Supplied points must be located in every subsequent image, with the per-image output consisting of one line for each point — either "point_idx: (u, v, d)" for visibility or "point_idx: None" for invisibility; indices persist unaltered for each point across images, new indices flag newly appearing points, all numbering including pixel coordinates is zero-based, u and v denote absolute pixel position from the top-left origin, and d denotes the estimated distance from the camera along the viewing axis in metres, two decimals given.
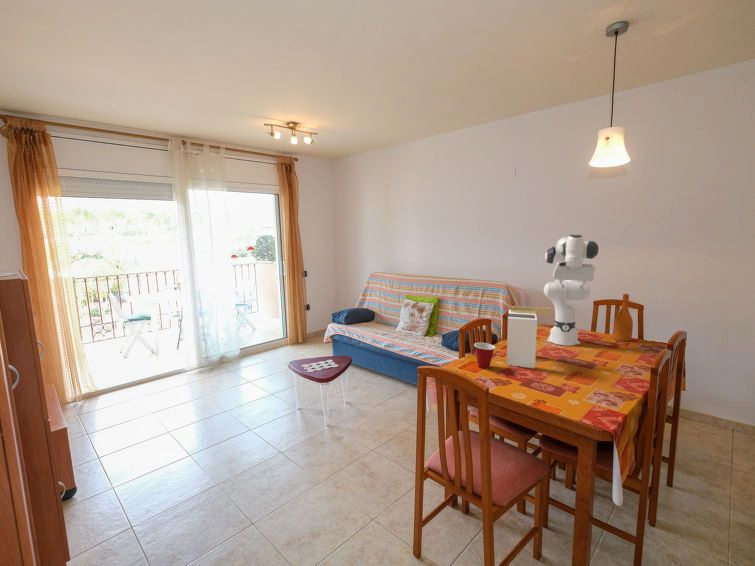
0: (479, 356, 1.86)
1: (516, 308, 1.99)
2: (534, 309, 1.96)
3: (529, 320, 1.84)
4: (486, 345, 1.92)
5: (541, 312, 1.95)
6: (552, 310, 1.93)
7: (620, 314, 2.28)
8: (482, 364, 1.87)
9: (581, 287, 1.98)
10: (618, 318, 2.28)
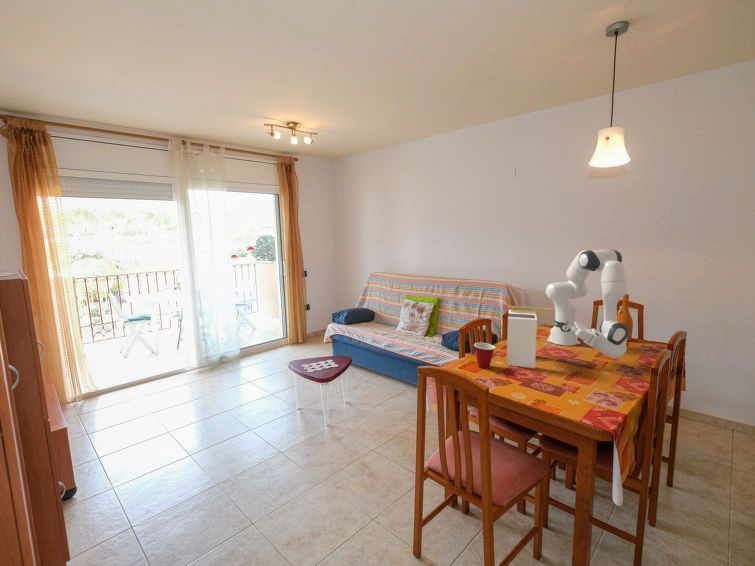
0: (479, 356, 1.86)
1: (516, 308, 1.99)
2: (534, 309, 1.96)
3: (529, 320, 1.84)
4: (486, 345, 1.92)
5: (541, 312, 1.95)
6: (552, 310, 1.93)
7: (620, 314, 2.28)
8: (482, 364, 1.87)
9: (566, 323, 1.97)
10: (618, 318, 2.28)
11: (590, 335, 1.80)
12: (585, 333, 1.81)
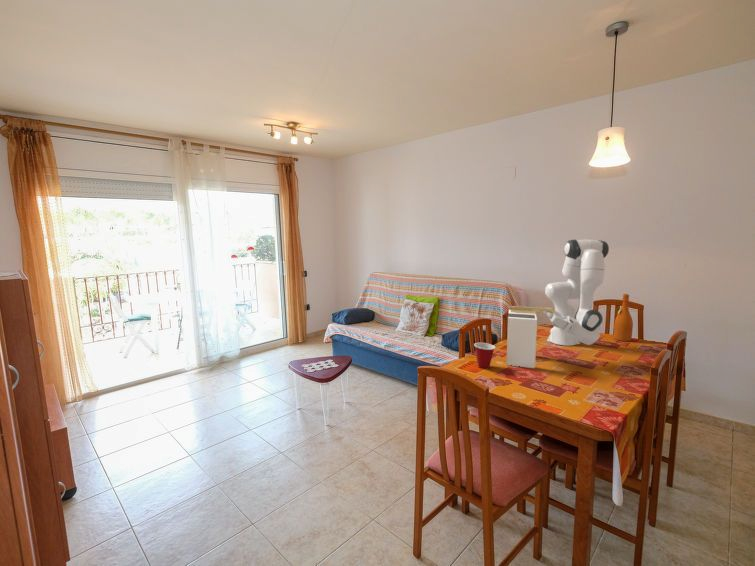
0: (479, 356, 1.86)
1: (516, 308, 1.99)
2: (534, 309, 1.96)
3: (529, 320, 1.84)
4: (486, 345, 1.92)
5: (541, 312, 1.95)
6: (552, 310, 1.93)
7: (620, 314, 2.28)
8: (482, 364, 1.87)
9: None
10: (618, 318, 2.28)
11: (565, 322, 1.84)
12: (560, 320, 1.84)
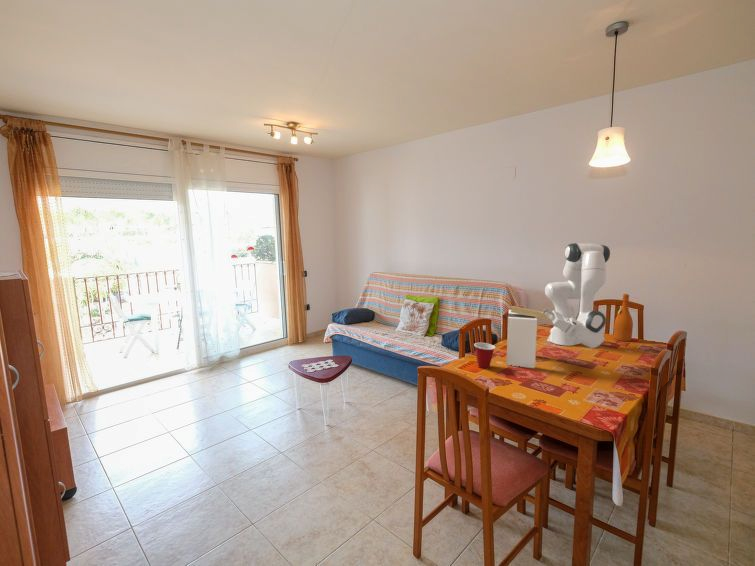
0: (479, 356, 1.86)
1: (517, 309, 1.89)
2: (536, 313, 1.86)
3: (529, 320, 1.84)
4: (486, 345, 1.92)
5: (542, 317, 1.86)
6: None
7: (620, 314, 2.28)
8: (482, 364, 1.87)
9: None
10: (618, 318, 2.28)
11: (567, 324, 1.75)
12: (562, 322, 1.75)
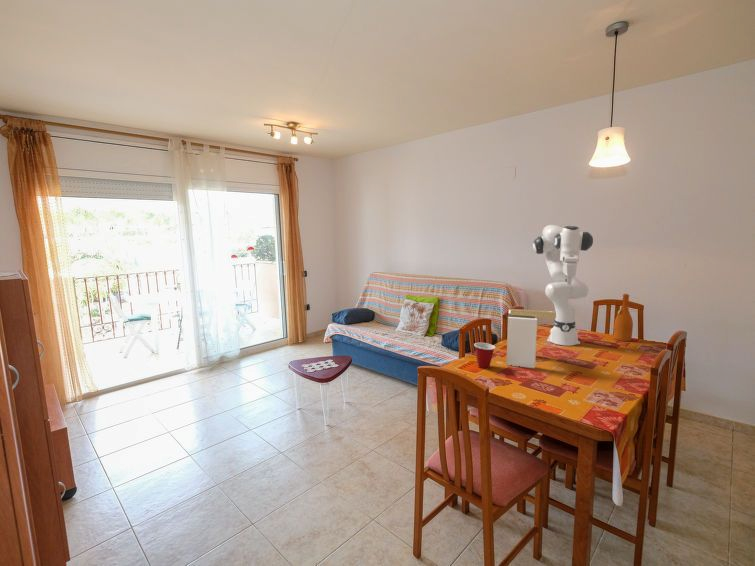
0: (479, 356, 1.86)
1: (516, 311, 1.90)
2: (535, 312, 1.87)
3: (529, 320, 1.84)
4: (486, 345, 1.92)
5: (542, 316, 1.85)
6: (554, 314, 1.83)
7: (620, 314, 2.28)
8: (482, 364, 1.87)
9: None
10: (618, 318, 2.28)
11: (567, 265, 1.80)
12: (568, 270, 1.80)
